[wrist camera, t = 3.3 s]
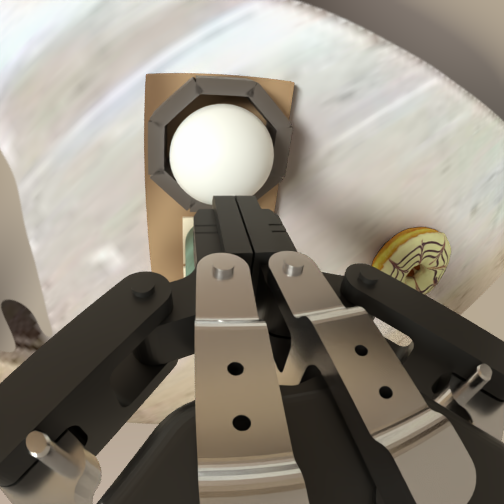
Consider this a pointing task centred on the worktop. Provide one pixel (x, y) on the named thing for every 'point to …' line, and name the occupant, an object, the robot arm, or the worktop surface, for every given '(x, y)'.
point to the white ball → (221, 153)
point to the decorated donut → (415, 258)
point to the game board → (159, 141)
